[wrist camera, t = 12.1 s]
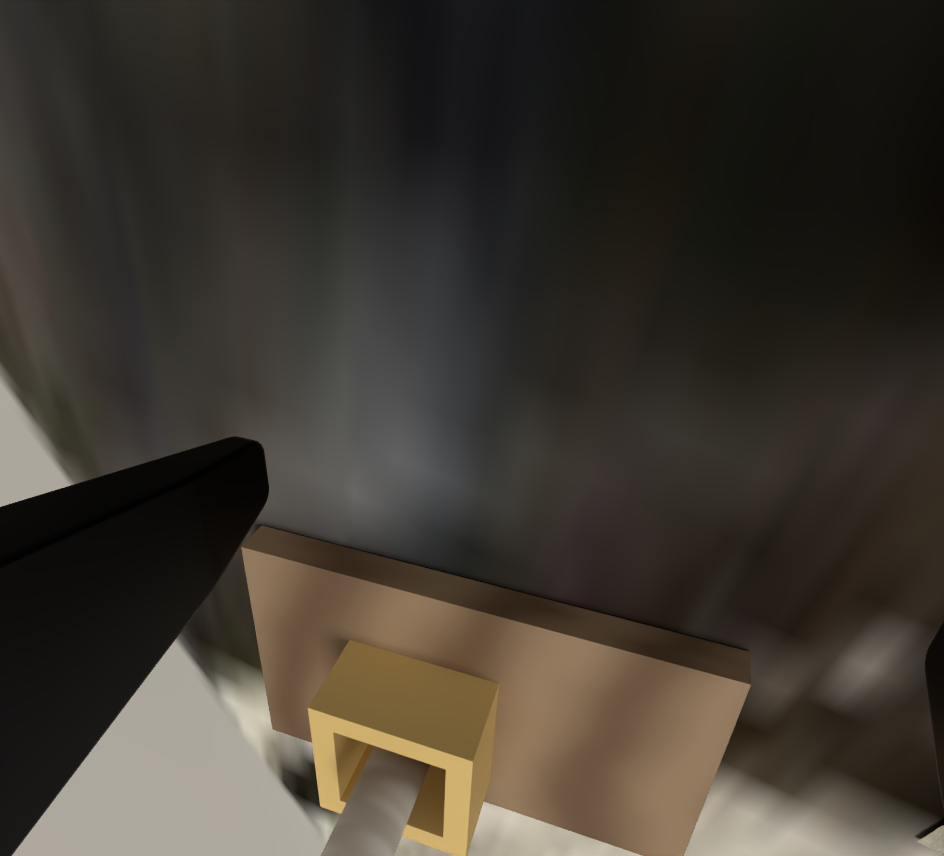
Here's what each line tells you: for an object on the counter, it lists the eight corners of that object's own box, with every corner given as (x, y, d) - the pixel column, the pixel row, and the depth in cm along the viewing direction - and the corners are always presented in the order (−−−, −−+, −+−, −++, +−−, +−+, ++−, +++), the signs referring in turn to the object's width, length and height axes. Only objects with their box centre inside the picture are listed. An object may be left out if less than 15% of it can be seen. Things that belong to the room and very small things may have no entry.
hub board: (749, 651, 24) (763, 904, 17) (680, 834, 30) (670, 1075, 23) (261, 525, 29) (114, 681, 22) (288, 704, 35) (180, 871, 28)
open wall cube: (499, 683, 26) (473, 761, 24) (489, 780, 30) (465, 859, 27) (349, 639, 28) (307, 707, 25) (356, 736, 31) (320, 806, 29)
